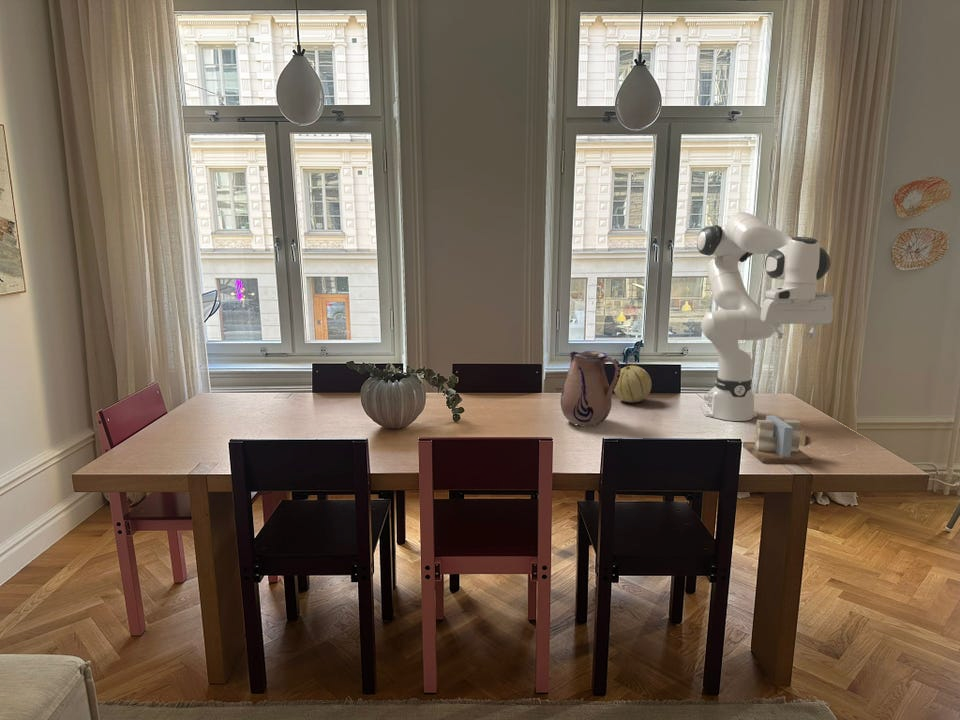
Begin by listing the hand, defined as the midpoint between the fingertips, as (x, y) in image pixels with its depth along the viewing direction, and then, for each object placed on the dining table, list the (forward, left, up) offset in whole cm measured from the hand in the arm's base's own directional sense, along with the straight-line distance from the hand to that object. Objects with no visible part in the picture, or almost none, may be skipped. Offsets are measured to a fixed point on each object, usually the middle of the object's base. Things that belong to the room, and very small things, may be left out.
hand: (794, 338), depth 183 cm
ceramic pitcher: (-22, -57, -34) cm, 70 cm away
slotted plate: (+8, -6, -33) cm, 34 cm away
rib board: (+8, -6, -34) cm, 36 cm away
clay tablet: (-8, +5, -35) cm, 36 cm away
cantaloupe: (-51, -36, -34) cm, 71 cm away
